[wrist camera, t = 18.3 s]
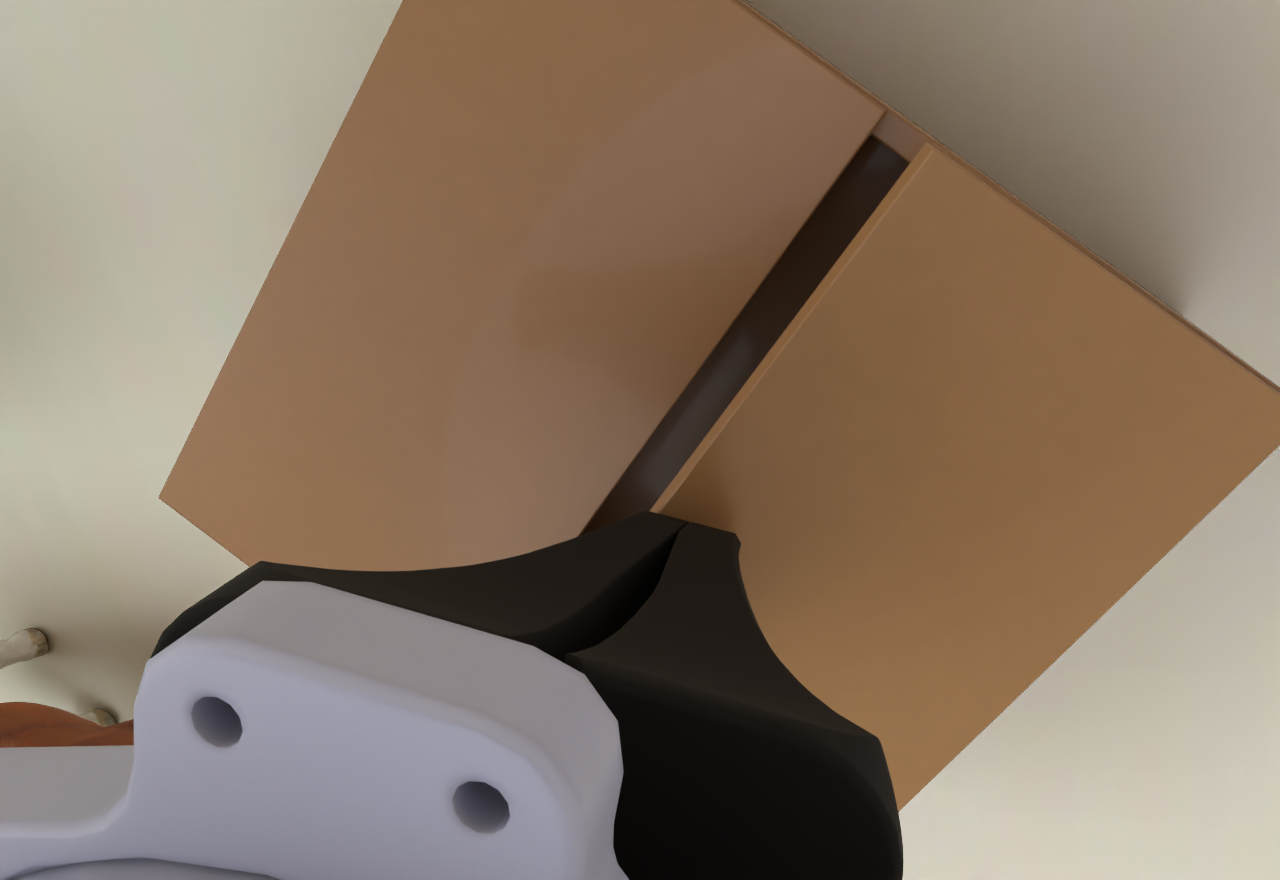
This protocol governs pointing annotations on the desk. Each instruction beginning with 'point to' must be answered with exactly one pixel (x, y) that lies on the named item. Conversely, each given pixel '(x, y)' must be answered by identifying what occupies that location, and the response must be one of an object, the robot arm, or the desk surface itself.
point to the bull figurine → (52, 710)
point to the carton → (536, 278)
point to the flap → (963, 463)
